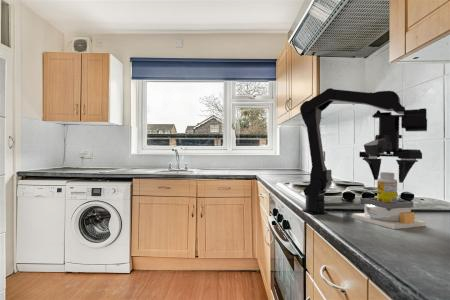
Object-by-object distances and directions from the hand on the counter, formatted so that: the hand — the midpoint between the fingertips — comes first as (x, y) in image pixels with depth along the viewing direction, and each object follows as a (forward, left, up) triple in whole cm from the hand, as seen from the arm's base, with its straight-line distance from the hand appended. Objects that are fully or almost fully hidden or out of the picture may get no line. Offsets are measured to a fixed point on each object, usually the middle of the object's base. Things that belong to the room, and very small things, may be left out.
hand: (387, 181), depth 101 cm
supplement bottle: (0, 0, -8) cm, 8 cm away
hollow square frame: (+1, 0, -12) cm, 12 cm away
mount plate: (0, 0, -13) cm, 13 cm away
